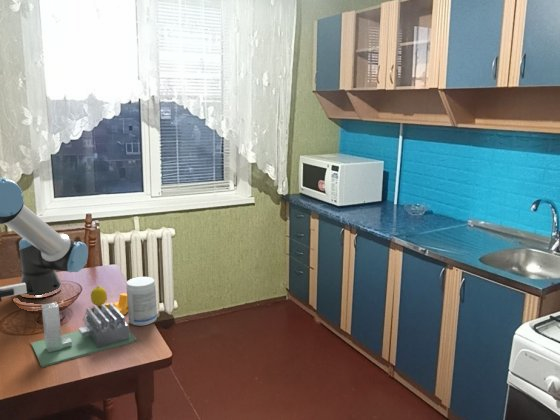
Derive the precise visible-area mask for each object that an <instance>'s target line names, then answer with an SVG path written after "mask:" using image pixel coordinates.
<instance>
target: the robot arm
mask: <svg viewBox="0 0 560 420" xmlns="http://www.w3.org/2000/svg"><path fill="white" fill-rule="evenodd" d="M22 193H23V191H22V188H21V187H20V186H19V184H17V182H15V181H14V180H11V179H9V178H4V177H0V225H5V226H7V227H8V228H9V229H10V230H12V231H13V232H14V233H16V234H17V235H18V236H20V237H21V239H20V240H19V242H18V245H19V248H18V251H19V257H20V266H21V274H22V276H21V279H20V283H15V284H9V285H4V286H0V303H1V302H2V299H5V298H8V297H13V296H18V295H19V296H20V294H29V295H34V296H35V295H42V294H45V293H49V292H52V291H54V290H56V289H58V288H59V287H60V285H61V286H62V283H61V281H60V278H59V277H58V274H57V272H56V271H61V272H68V273H79V272H80V271H81V270H82V269H84V267H85V266H86V264H87V262H88V258H89V249H88V246H87V245H86V243H84V242H83V241H75V240H74V239H72V238H71V237H70V236H68V234H66V233H63V232H59V233H58V232H57V231H56V230H55V229H54V228H53V227H52V226H50V225H49V224H48V223H47V222H46V221H44V220H43V219H42V218H40V216H38V215H37V213H34V212H33V211H32V210H31V209H30V208H29V207H28V206H26V205H25V200H24V195H23V194H22Z"/></svg>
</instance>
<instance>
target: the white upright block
mask: <svg viewBox="0 0 560 420" xmlns="http://www.w3.org/2000/svg"><path fill="white" fill-rule="evenodd" d="M40 306H41V315H42V325H43V335H44V340H45V347H46V349H47V351H48V353H49V352H53V351H57V350H60V349H62V348H65V347H69V346H72V341H71V339H70V338H66V339H62V338H61V335H62V329H61V327H62V326H61V319H60V307H59V305H58V303H57V302H56V301H54V302H47V303H44V304H41V305H40Z"/></svg>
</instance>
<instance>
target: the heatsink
mask: <svg viewBox="0 0 560 420" xmlns="http://www.w3.org/2000/svg"><path fill="white" fill-rule="evenodd" d="M108 303H109V309H108V308H107V307H106V306H105V303H104V304H101V306H100V307H101V309H100V308H99V306H97V305H93V310H94V312H93V310H92V309H91V308H90V307H88V306H87V307H86V316H83V320H84V321H83V322H84V324H83V325H84V326H80V327H78V331H79V333H80V334H81V336H82V337H85V336H89V337H90V339H91V340H92V341H93V343H94V344H95V346H96V347H97V348H101V347H104V346H108V345H112V344H115V343H119V342H122V341H126V340H129V331H130V327H129V324H128V323H127V322H126V318H125V317H126V316H125V315H122V314H121V313H120V312H119V311H118V309H117V308H116V307H115V306H114V305H113V304H112V303H113V302H111V301H110V302H108Z"/></svg>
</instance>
